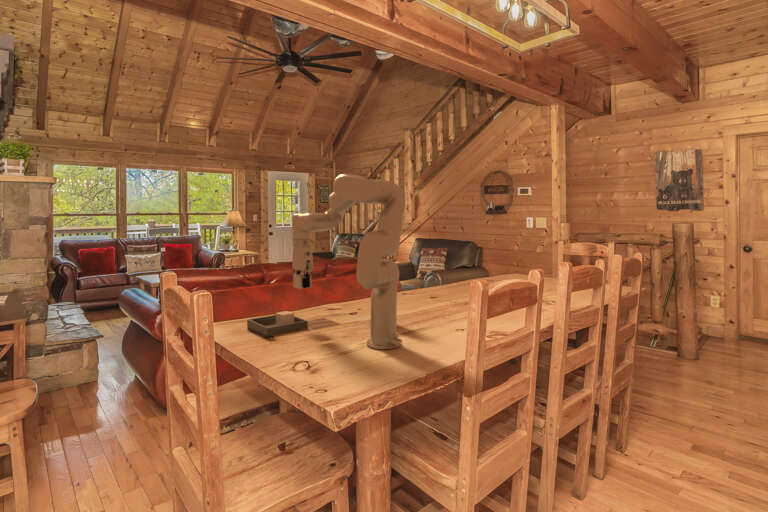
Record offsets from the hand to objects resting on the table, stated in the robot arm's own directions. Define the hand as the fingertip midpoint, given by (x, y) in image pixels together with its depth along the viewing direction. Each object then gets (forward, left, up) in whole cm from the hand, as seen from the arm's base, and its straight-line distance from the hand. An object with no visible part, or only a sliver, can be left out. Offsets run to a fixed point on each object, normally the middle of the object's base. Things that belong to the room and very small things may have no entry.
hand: (302, 286), depth 188 cm
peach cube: (+3, +7, -17) cm, 18 cm away
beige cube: (0, 0, 0) cm, 0 cm away
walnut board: (-3, -6, -18) cm, 19 cm away
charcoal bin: (+3, +10, -18) cm, 21 cm away
